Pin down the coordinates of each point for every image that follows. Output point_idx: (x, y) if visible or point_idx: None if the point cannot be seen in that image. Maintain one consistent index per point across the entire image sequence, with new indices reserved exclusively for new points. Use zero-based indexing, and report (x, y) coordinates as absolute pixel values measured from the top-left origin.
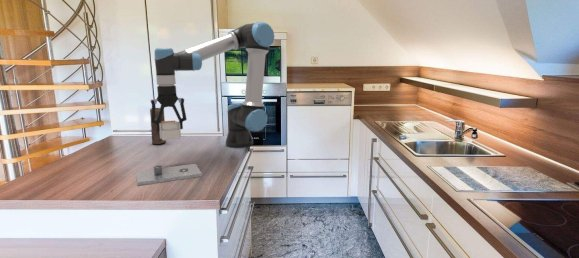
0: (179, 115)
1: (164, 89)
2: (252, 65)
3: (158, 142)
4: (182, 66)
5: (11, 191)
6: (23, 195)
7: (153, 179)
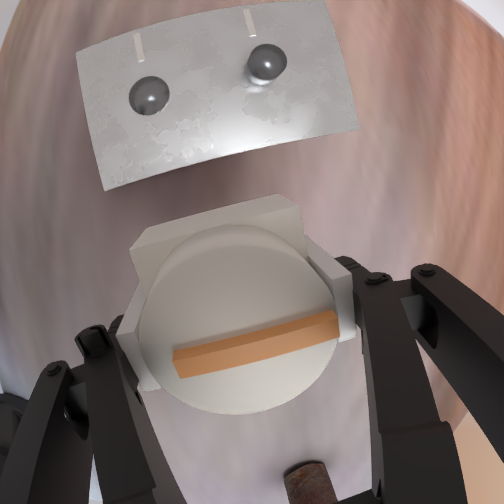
0: (92, 399)
1: None
2: None
3: (307, 468)
4: None
5: None
6: None
7: (270, 10)
